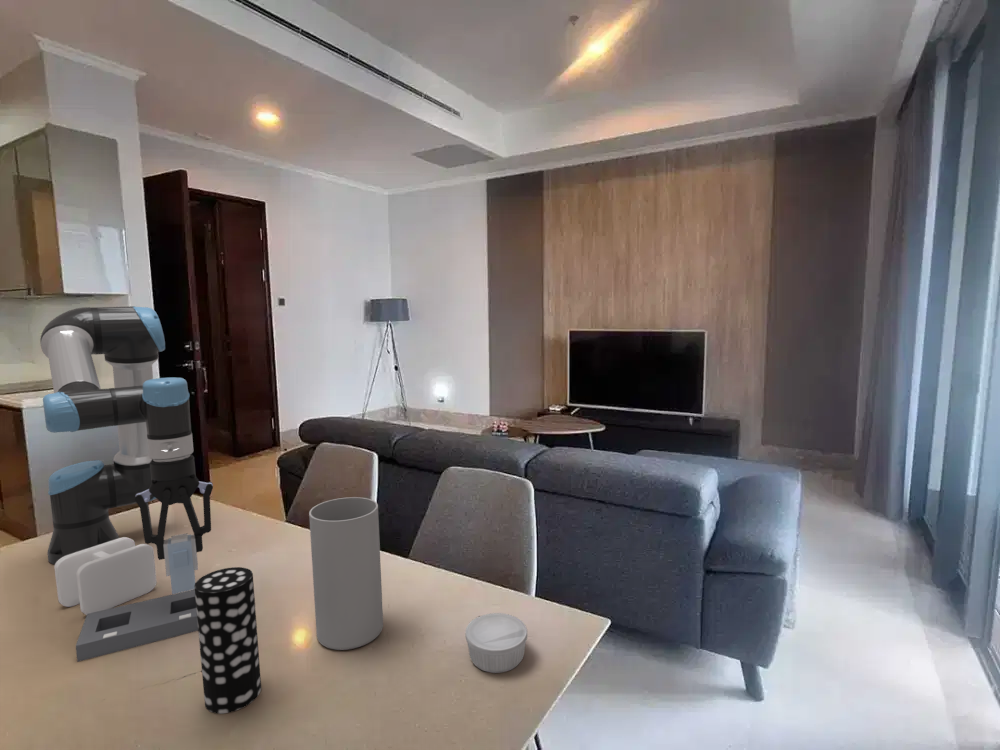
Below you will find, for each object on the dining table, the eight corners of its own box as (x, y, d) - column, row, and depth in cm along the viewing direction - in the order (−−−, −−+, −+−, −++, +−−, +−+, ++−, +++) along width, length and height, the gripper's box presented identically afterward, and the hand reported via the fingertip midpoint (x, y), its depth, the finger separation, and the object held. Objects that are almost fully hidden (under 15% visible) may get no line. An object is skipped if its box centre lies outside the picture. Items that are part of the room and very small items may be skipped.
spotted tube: (218, 679, 94) (208, 568, 91) (268, 676, 94) (260, 565, 92) (195, 715, 85) (184, 594, 83) (250, 711, 86) (241, 591, 84)
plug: (172, 585, 111) (168, 535, 110) (195, 580, 113) (190, 531, 112) (172, 596, 107) (167, 544, 106) (195, 590, 109) (190, 539, 108)
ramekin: (507, 686, 91) (506, 657, 90) (453, 664, 97) (452, 636, 96) (538, 650, 100) (538, 623, 100) (487, 632, 106) (487, 606, 106)
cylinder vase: (395, 620, 111) (390, 500, 108) (360, 657, 99) (353, 524, 96) (342, 610, 115) (336, 494, 112) (302, 644, 103) (294, 517, 100)
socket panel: (89, 630, 109) (87, 613, 108) (213, 600, 119) (212, 584, 119) (77, 664, 98) (75, 645, 98) (215, 628, 109) (214, 610, 108)
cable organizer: (80, 624, 111) (73, 570, 110) (58, 609, 117) (51, 557, 115) (158, 591, 124) (153, 542, 122) (135, 579, 129) (130, 532, 128)
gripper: (117, 468, 100) (129, 589, 103) (221, 454, 108) (230, 567, 111) (121, 458, 107) (133, 573, 110) (219, 446, 115) (228, 553, 118)
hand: (182, 570), depth 110 cm, fingers closed on plug, 4 cm apart
